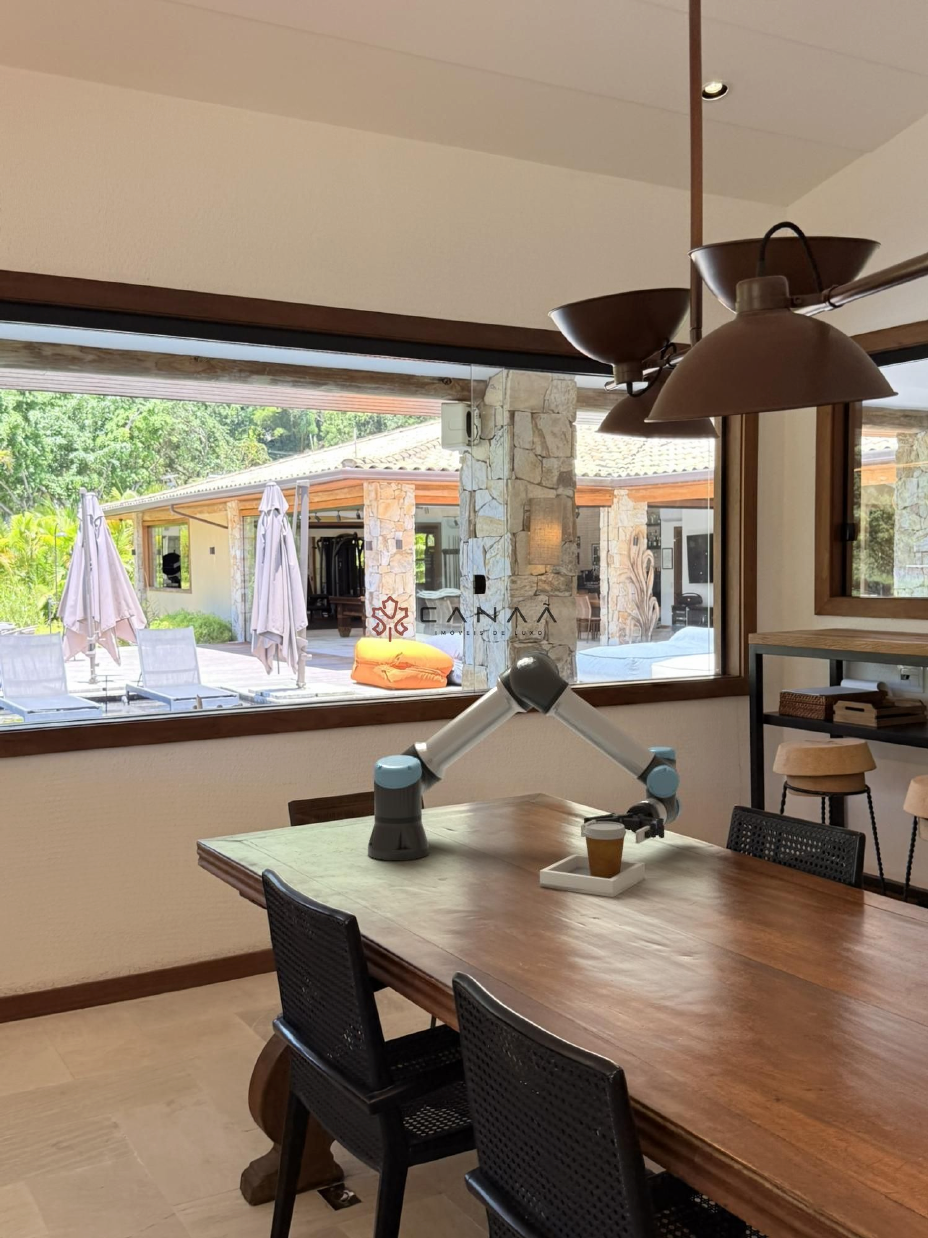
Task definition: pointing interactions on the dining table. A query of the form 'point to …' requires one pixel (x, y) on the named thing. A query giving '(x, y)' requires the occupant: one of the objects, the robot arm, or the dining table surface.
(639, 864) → the square well
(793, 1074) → the dining table surface
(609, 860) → the disposable coffee cup
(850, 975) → the dining table surface
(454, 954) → the dining table surface
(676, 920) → the dining table surface
